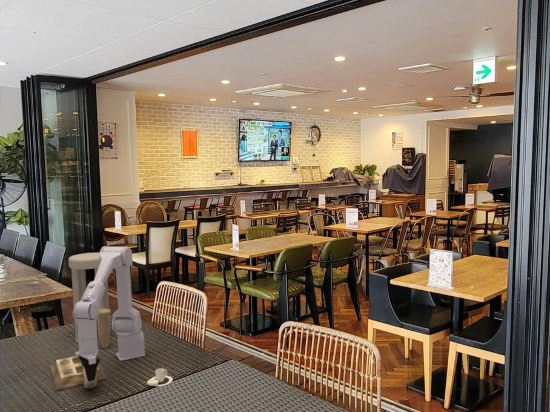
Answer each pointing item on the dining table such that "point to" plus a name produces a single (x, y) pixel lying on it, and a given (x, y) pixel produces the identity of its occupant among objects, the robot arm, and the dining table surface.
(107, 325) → the handle
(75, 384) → the socket block
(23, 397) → the dining table surface
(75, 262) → the stool
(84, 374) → the peg
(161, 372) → the teacup and saucer
